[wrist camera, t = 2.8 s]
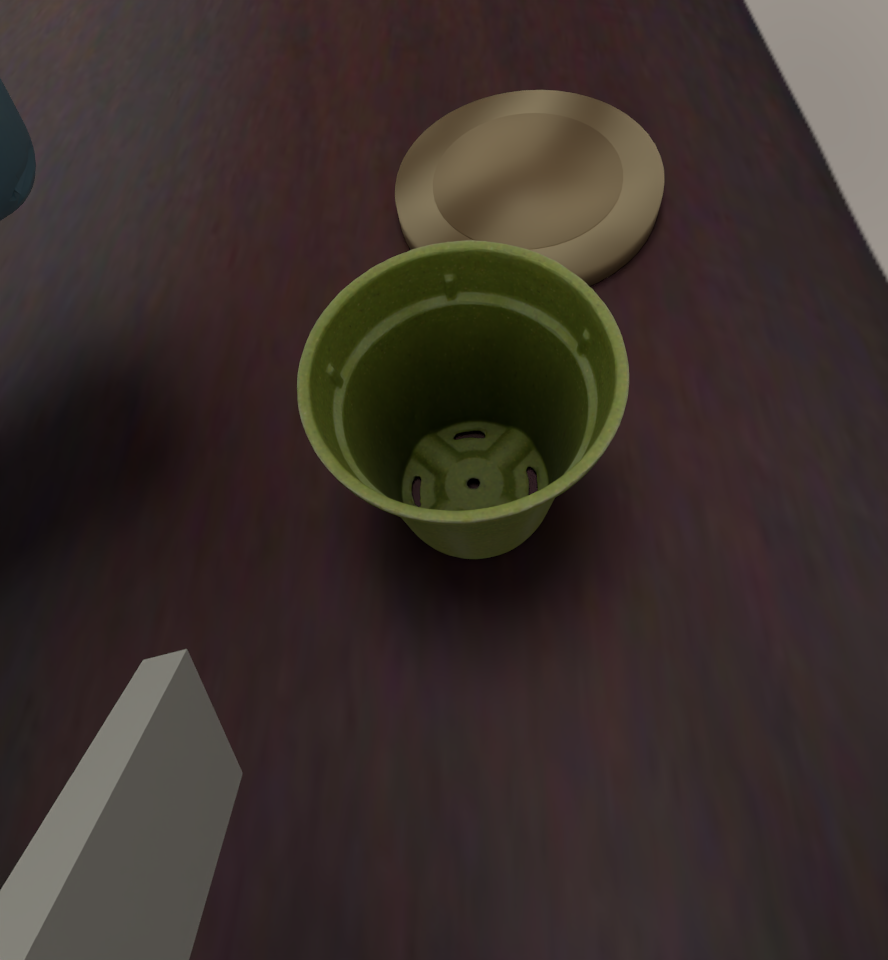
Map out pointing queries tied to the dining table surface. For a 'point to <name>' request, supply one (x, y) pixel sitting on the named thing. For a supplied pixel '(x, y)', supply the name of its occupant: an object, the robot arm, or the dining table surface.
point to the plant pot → (464, 389)
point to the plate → (535, 180)
